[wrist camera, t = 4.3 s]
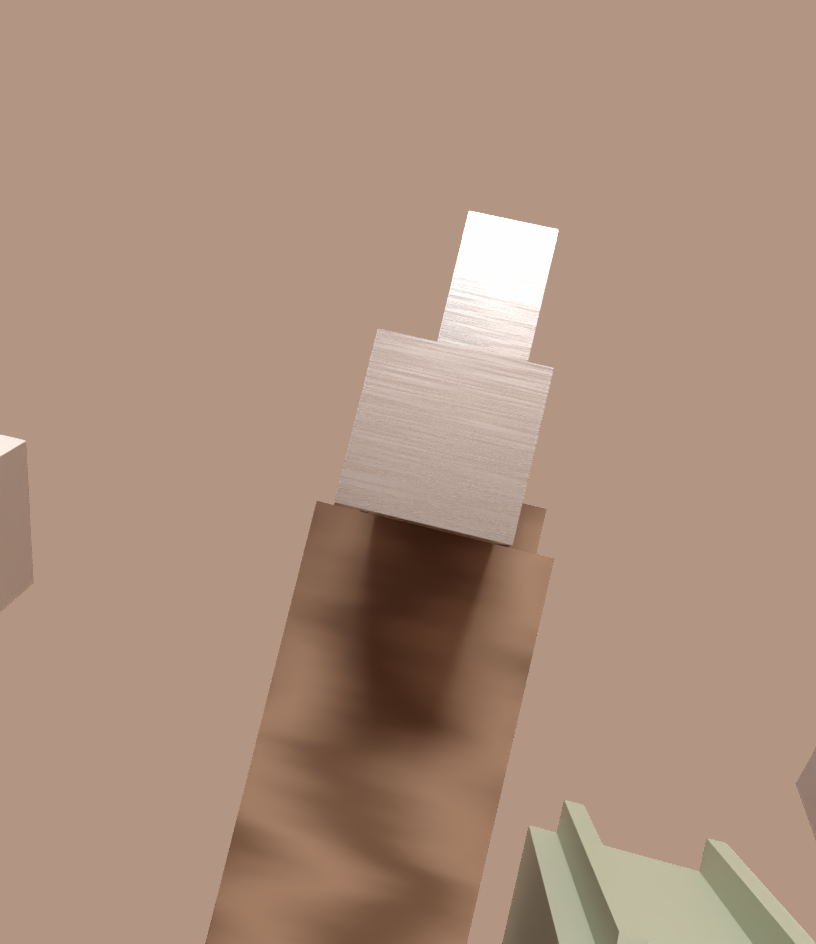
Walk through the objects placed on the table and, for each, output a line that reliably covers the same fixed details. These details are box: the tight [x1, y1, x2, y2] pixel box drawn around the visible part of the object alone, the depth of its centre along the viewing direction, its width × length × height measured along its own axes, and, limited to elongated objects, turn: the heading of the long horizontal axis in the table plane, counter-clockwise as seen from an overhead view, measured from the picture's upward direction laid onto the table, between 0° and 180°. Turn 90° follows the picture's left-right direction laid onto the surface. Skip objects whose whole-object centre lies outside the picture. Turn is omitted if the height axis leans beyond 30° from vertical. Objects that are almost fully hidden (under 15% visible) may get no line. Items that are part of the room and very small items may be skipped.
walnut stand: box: [205, 501, 554, 944], centre depth 30 cm, size 8×11×34 cm
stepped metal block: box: [335, 211, 558, 545], centre depth 27 cm, size 20×4×14 cm, turn 176°
